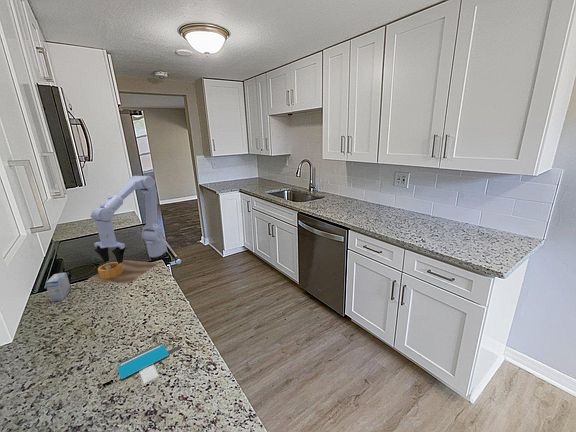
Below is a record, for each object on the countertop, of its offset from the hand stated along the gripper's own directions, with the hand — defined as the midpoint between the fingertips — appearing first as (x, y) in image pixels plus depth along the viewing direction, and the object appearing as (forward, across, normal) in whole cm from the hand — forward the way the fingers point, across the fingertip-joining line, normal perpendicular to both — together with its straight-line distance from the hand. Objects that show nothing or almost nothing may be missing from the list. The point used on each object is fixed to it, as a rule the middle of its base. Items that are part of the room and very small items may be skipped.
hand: (113, 262), depth 121 cm
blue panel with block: (+9, +50, -41) cm, 66 cm away
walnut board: (+8, +1, +4) cm, 9 cm away
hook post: (+6, -4, 0) cm, 7 cm away
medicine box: (+8, -11, -17) cm, 22 cm away
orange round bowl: (+6, -3, 0) cm, 7 cm away
